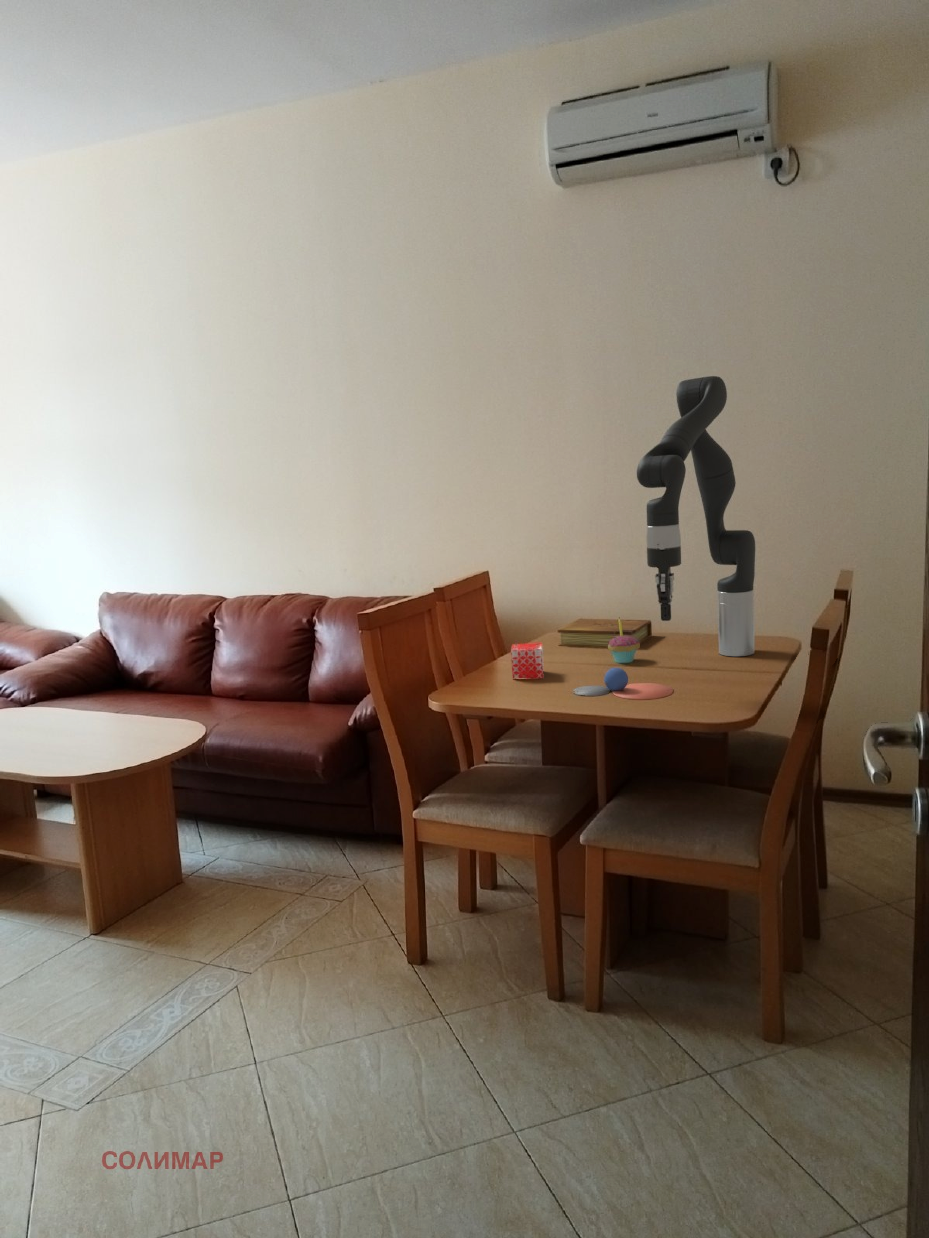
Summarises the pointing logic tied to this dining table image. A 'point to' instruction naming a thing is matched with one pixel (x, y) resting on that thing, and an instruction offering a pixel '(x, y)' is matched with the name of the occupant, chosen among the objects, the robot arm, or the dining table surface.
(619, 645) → the cupcake
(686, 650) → the dining table surface
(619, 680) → the ball
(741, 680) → the dining table surface
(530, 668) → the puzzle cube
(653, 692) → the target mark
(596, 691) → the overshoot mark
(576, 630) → the diary
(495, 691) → the dining table surface
